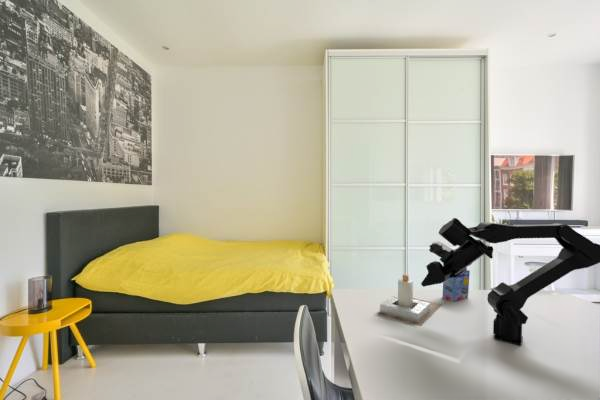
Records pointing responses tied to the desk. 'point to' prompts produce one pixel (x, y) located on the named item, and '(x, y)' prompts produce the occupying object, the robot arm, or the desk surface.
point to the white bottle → (405, 292)
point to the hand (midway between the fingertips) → (428, 282)
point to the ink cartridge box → (456, 287)
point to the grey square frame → (405, 309)
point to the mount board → (433, 309)
